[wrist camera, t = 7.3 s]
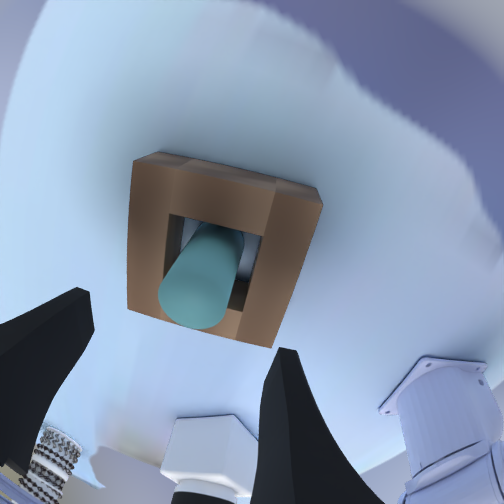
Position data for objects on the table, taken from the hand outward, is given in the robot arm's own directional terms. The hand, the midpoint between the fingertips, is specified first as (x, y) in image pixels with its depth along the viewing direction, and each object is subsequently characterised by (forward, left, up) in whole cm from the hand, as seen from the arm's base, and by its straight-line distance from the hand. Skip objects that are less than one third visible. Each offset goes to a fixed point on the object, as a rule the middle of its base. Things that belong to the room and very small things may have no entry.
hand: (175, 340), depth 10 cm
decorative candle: (+25, +50, -9) cm, 57 cm away
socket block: (0, 0, -8) cm, 8 cm away
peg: (0, 0, -8) cm, 8 cm away
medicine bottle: (-3, +22, -9) cm, 24 cm away
